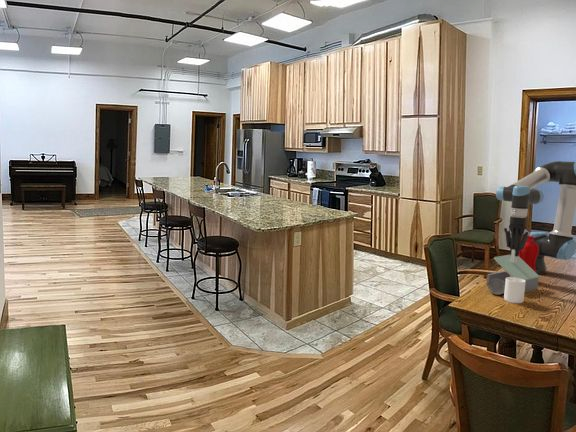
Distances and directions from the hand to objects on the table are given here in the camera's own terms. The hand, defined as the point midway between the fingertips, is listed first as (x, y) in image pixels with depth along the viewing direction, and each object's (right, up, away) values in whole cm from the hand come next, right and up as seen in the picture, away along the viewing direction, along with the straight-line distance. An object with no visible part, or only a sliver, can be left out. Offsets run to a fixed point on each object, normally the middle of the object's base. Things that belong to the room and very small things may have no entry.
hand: (513, 262), depth 228 cm
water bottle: (+13, -12, +14) cm, 23 cm away
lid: (+1, -3, -1) cm, 3 cm away
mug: (-9, -11, -3) cm, 15 cm away
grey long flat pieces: (0, -13, +2) cm, 13 cm away
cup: (-8, -16, -17) cm, 25 cm away
